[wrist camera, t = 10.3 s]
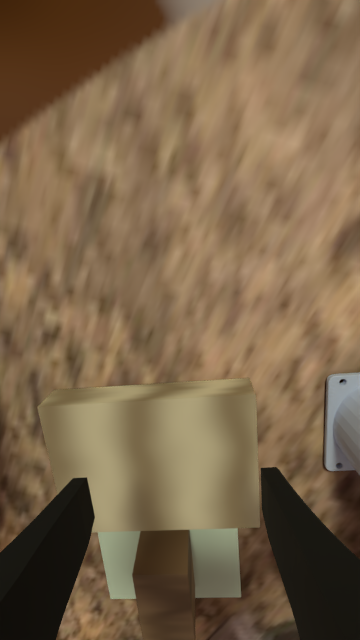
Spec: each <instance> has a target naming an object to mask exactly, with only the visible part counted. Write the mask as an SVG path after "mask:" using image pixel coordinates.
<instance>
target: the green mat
mask: <svg viewBox="0 0 360 640" xmlns="http://www.w3.org/2000/svg"><path fill="white" fill-rule="evenodd" d="M189 531H190V540H191V550H192V560H193V569H194V579H195V598H227V597H241V583H240V565H239V547H238V529H237V528H228V529H193V530H189ZM139 536H140V531H122V532H98V537H99V542H100V547H101V552H102V557H103V562H104V567H105V572H106V578H107V583H108V588H109V593H110V598H111V599H136V595H135V589H134V583H133V578H132V573H133V568H134V562H135V557H136V552H137V546H138V541H139Z"/></svg>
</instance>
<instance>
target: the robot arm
mask: <svg viewBox="0 0 360 640" xmlns="http://www.w3.org/2000/svg"><path fill="white" fill-rule="evenodd" d="M341 379H344V381H343V382H342V383H339V381H340V380H341ZM337 463H340V464H339V465H336V464H337ZM324 465H325V467H326V469H327V470H329V471H347V470H356V472H357V473H358V474H359V476H360V373H345V374H332V375H330V376H329V377H328V378H327V381H326V411H325V444H324ZM261 490H262V511H263V516H264V520H265V525H266V529H267V533H268V538H269V541H270V544H271V547H272V550H273V553H274V556H275V559H276V562H277V566H278V569H279V572H280V575H281V578H282V581H283V584H284V587H285V590H286V593H287V596H288V599H289V602H290V605H291V608H292V611H293V615H294V618H295V622H296V625H297V629H298V633H299V637H300V640H360V559H359V558H357V557H356V556H355V555H354V554H353V553H352V552H351V551H350V550H349V549H348V548H347V547H346V546H345V545H344V544H343V543H342V542H341V541H340V540H339V539H338V538H337V537H336V536H335V535H334V534H333V533H332V532H331V531H330V530H329V529H328V528H327V527H326V526H325V525H324V524H323V523H322V522H321V521H320V520H319V518H318V517H317V516H316V515H315V514H314V513H313V512H312V511H311V509H310V508H309V507H308V506H307V505H306V504H305V503H304V501H303V500H302V499H301V498H300V497H299V495H298V494H297V493H296V492H295V490H294V489H293V488H292V487H291V485H290V484H289V483H288V481H287V480H286V479H285V477H284V476H283V475H282V473H281V472H280V471H279V469H278V468H276V467H272V468H261ZM94 519H95V515H94V510H93V505H92V500H91V494H90V489H89V484H88V479H87V477H84V478H73V479H72V480H71V481H70V482H69V483H68V484H67V485H66V486H65V487H64V488H63V489H62V490H61V491H60V492H59V494H58V495H57V496H56V497H55V498H54V499H53V500H52V501H51V502H50V503H49V504H48V506H47V507H46V508H45V509H44V510H43V511H42V512H41V513H40V514H39V515H38V516H37V517H36V518H35V519H34V520H33V521H32V522H31V523H30V524H29V525H28V526H27V527H26V528H25V529H24V530H23V531H22V532H21V533H20V534H19V535H18V536H17V537H16V538H15V539H14V540H13V541H12V542H11V543H10V544H9V545H8V546H7V547H6V548H5V549H4V550H3V551H1V552H0V640H56V637H57V633H58V630H59V627H60V624H61V621H62V618H63V614H64V612H65V609H66V606H67V603H68V601H69V598H70V595H71V592H72V589H73V587H74V584H75V581H76V578H77V576H78V573H79V570H80V567H81V564H82V561H83V559H84V556H85V553H86V550H87V547H88V544H89V540H90V536H91V532H92V528H93V523H94Z"/></svg>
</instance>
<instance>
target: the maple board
mask: <svg viewBox="0 0 360 640" xmlns="http://www.w3.org/2000/svg"><path fill="white" fill-rule="evenodd" d="M37 408H38V412H39V416H40V421H41V425H42V430H43V434H44V438H45V443H46V447H47V452H48V456H49V460H50V465H51V469H52V473H53V478H54V482H55V487H56V491H57V495H58V494H59V492H60V491H61V490H62V489H63V488H64V487H65V486H66V485H67V484H68V483H69V482H70V481H71V480H72V479H73V478H84V477H87V479H88V484H89V489H90V494H91V500H92V505H93V510H94V515H95V519H94V523H93V528H92V532H122V531H158V530H193V529H228V528H260V508H259V476H258V445H257V413H256V393H255V391H254V389H253V386H252V384H251V381H250V379H249V378H240V379H223V380H207V381H191V382H175V383H159V384H143V385H127V386H111V387H95V388H79V389H63V390H54V391H53V392H52V393H51V394H50V395H49V396H48V397H47V398H46V399H45V400H44V401H43V402H42V403H41V404H40V405H39V406H38V407H37Z"/></svg>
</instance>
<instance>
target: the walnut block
mask: <svg viewBox="0 0 360 640" xmlns="http://www.w3.org/2000/svg"><path fill="white" fill-rule="evenodd" d="M132 578H133V583H134V589H135V595H136V601H137V607H138V613H139V619H140V625H141V631H142V637H143V640H195V579H194V569H193V560H192V550H191V540H190V531H189V530H158V531H140V536H139V541H138V546H137V552H136V557H135V562H134V568H133V573H132Z"/></svg>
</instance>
